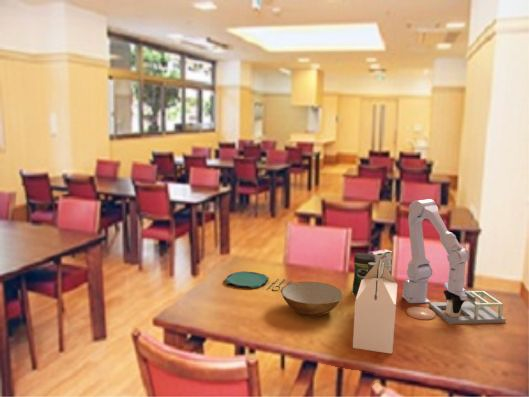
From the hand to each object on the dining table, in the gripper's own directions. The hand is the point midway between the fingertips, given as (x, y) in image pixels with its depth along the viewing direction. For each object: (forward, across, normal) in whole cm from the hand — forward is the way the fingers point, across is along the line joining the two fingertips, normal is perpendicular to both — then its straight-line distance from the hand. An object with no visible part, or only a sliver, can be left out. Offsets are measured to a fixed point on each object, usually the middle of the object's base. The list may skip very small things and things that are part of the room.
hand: (453, 310), depth 197 cm
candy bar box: (+2, +35, +19) cm, 40 cm away
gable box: (+2, -18, +39) cm, 43 cm away
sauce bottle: (+2, +6, +33) cm, 34 cm away
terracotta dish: (+2, +1, +13) cm, 13 cm away
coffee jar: (+2, +24, +30) cm, 38 cm away
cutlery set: (+2, +40, +76) cm, 86 cm away
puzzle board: (+2, 0, -6) cm, 6 cm away
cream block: (+2, 0, 0) cm, 2 cm away
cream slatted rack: (0, 0, -11) cm, 11 cm away
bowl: (+2, +7, +57) cm, 57 cm away
